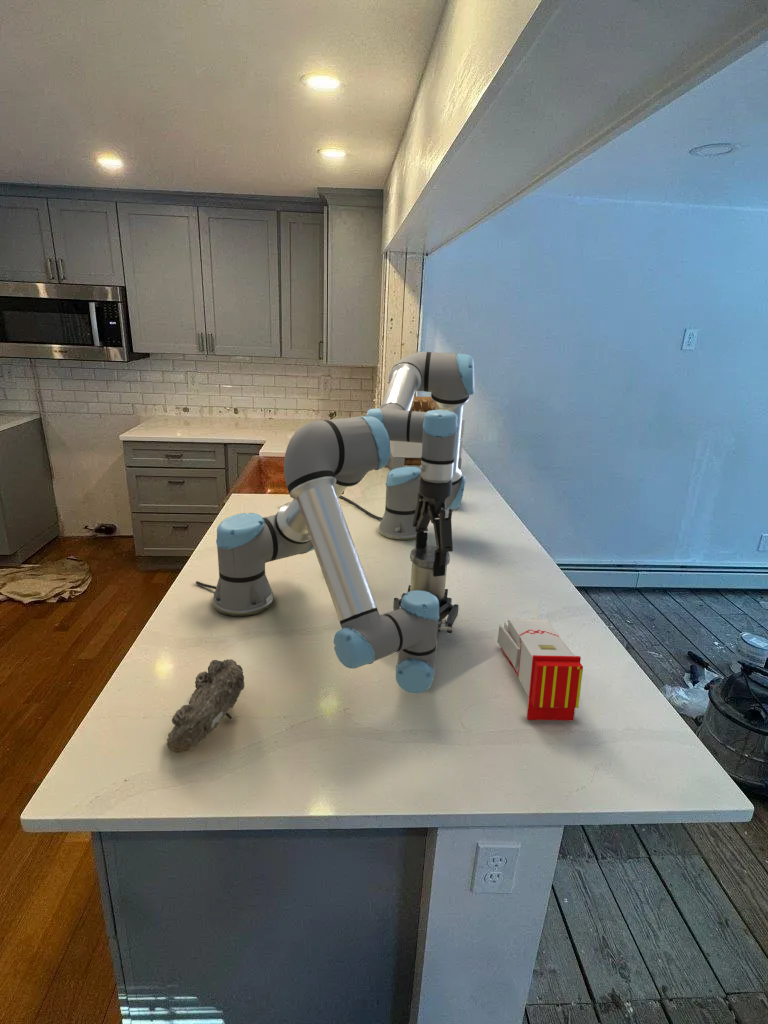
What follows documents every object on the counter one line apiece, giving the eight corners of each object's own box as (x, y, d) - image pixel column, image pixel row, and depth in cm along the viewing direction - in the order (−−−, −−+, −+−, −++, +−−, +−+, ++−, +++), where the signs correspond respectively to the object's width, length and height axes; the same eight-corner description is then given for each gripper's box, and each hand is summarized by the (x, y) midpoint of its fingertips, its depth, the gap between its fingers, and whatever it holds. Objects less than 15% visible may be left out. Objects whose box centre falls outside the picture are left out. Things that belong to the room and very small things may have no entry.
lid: (407, 565, 134) (407, 558, 134) (413, 550, 143) (413, 543, 143) (447, 570, 133) (448, 563, 132) (451, 554, 142) (451, 548, 141)
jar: (423, 611, 150) (428, 545, 143) (448, 624, 144) (455, 556, 137) (401, 621, 144) (405, 554, 138) (425, 635, 138) (431, 566, 132)
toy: (543, 604, 136) (592, 662, 106) (538, 656, 138) (584, 727, 109) (493, 603, 135) (528, 661, 106) (489, 655, 138) (522, 726, 109)
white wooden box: (382, 463, 289) (386, 382, 275) (445, 464, 293) (451, 384, 279) (390, 482, 257) (394, 392, 243) (460, 483, 261) (468, 394, 247)
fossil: (192, 660, 117) (244, 628, 112) (224, 691, 120) (276, 661, 115) (142, 746, 98) (202, 712, 93) (182, 779, 101) (242, 748, 96)
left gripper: (372, 647, 128) (386, 600, 149) (467, 659, 125) (468, 609, 146) (373, 618, 125) (387, 574, 146) (470, 629, 122) (471, 583, 143)
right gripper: (402, 466, 140) (397, 549, 147) (443, 494, 120) (435, 588, 127) (430, 465, 142) (424, 546, 150) (474, 492, 122) (464, 584, 130)
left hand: (428, 591), depth 146 cm, fingers closed on jar, 9 cm apart
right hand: (429, 565), depth 138 cm, fingers open, 10 cm apart
